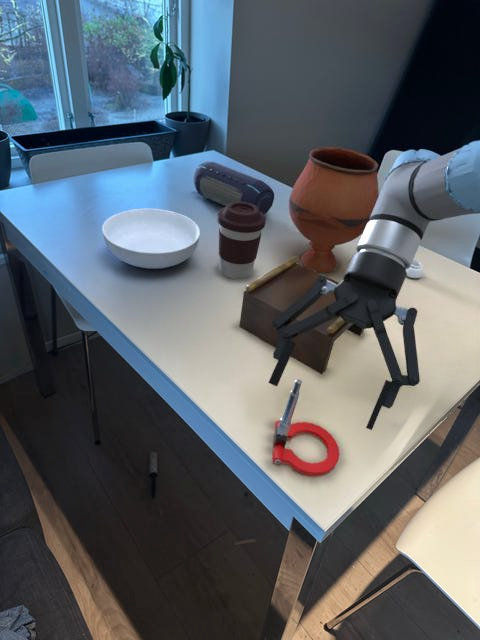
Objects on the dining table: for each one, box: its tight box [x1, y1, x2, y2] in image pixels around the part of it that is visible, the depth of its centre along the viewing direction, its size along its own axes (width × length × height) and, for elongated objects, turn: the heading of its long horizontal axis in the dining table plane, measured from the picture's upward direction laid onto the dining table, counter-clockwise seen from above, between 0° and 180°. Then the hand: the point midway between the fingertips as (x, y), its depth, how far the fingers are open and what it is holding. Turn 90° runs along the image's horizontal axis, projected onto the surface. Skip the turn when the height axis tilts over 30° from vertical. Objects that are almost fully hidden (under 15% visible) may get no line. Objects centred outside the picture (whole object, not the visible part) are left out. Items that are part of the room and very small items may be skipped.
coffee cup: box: [216, 202, 267, 280], centre depth 95 cm, size 10×10×15 cm
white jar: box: [406, 259, 424, 279], centre depth 106 cm, size 5×3×5 cm
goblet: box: [288, 146, 380, 273], centre depth 99 cm, size 19×19×25 cm
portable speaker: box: [193, 161, 275, 215], centre depth 125 cm, size 25×10×10 cm, turn 50°
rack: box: [239, 256, 365, 375], centre depth 82 cm, size 18×16×10 cm
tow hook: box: [272, 379, 340, 477], centre depth 59 cm, size 8×13×9 cm
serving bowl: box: [101, 208, 201, 269], centre depth 99 cm, size 21×21×7 cm
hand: (318, 406), depth 59 cm, fingers open, 13 cm apart
